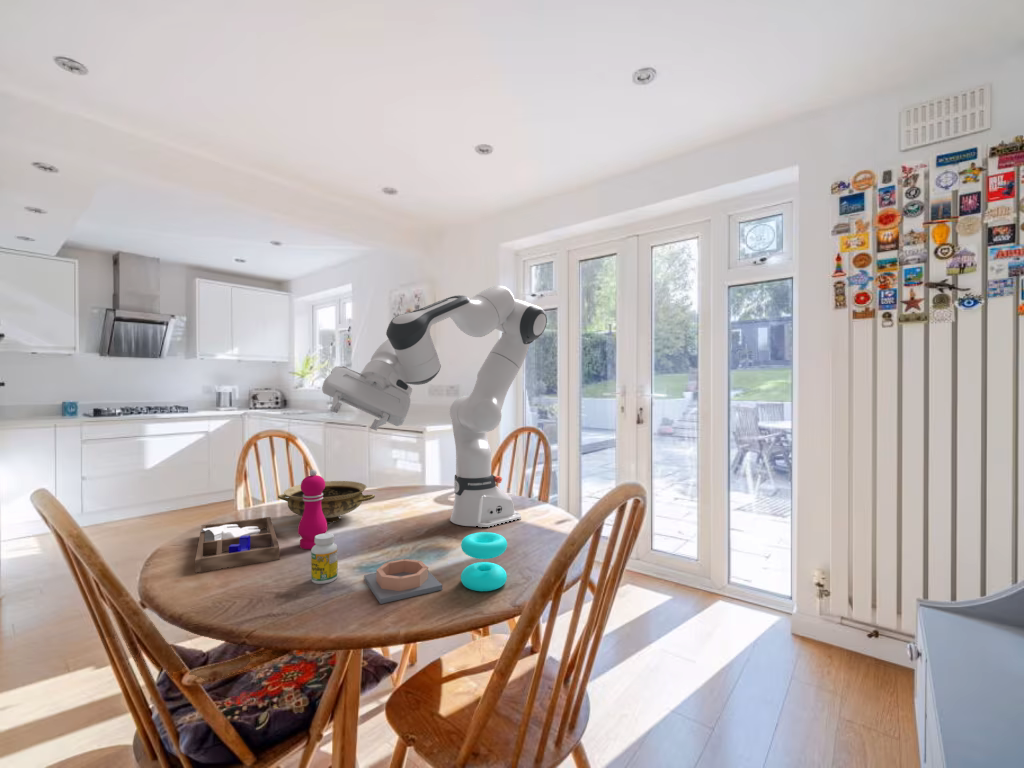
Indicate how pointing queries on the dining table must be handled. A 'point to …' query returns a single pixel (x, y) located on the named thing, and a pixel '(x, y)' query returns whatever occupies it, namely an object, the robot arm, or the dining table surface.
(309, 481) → the pepper mill
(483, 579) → the donuts
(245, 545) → the cable holder
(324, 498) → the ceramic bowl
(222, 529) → the white tapered wedge pair
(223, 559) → the walnut compartment tray
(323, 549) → the supplement bottle
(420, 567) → the collar holder
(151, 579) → the dining table surface
